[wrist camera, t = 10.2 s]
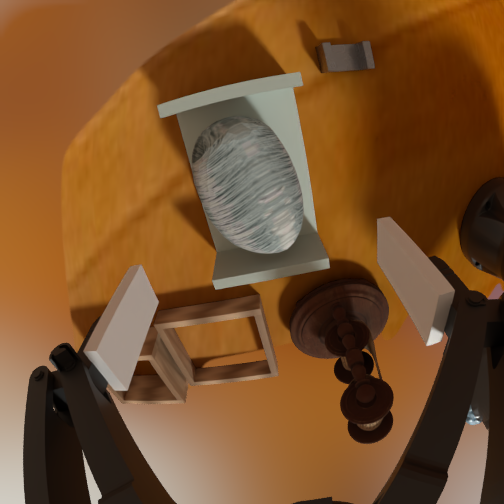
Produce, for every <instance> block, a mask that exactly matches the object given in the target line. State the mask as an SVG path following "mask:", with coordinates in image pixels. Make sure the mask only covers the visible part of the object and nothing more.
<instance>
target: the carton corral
mask: <svg viewBox="0 0 504 504" xmlns="http://www.w3.org/2000/svg"><path fill="white" fill-rule="evenodd" d="M142 360H149V362H150V363H151V365H152V366H153V367H154V369H155V370H156V372H157V373H158V375H140V376H132V379H131V382H130V385H129V388H128V391H115V390H114V389H113V388H112V387H111V386H110V384H109V383H108V385H107V387H108V388H109V390H110V391H111V392H112V393H113V394H114V395H115V396H116V397H117V398H118V399H119V400H120V401H121V403H129V404H177V403H185V402H186V395H187V389H188V383H189V382H188V381H187V379H186V378H185V376H184V375H183V373H182V372H181V370H180V368H179V367H178V365H177V364H176V362H175V360H174V359H173V357H172V355H171V354H170V352H169V350H168V349H167V347H166V345H165V344H164V342H163V340H162V339H161V337H160V335H159V333H158V332H157V330H156V328H155V327H149V330H148V333H147V335H146V338H145V341H144V344H143V347H142V349H141V352H140V355H139V358H138V361H142Z"/></svg>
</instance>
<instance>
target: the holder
mask: <svg viewBox="0 0 504 504" xmlns="http://www.w3.org/2000/svg"><path fill="white" fill-rule="evenodd" d="M298 86H303V83H302V78H301V73H300V72H297V73H289V74H283V75H277V76H271V77H265V78H260V79H254V80H249V81H244V82H240V83H235V84H231V85H227V86H222V87H218V88H214V89H210V90H207V91H203V92H199V93H196V94H192V95H189V96H185V97H182V98H178V99H175V100H172V101H169V102H166V103H163V104H160V105H157V107H158V111H159V115H160V118H164V117H167V116H170V115H174V114H176V115H177V119H178V122H179V126H180V130H181V133H182V137H183V140H184V144H185V147H186V151H187V155H188V158H189V162H190V165H191V168H192V152H193V149H194V145H195V142H196V140H197V138H198V137H199V135H200V134H201V133H202V131H203V130H204V129H206V128H207V127H208V126H210V125H211V124H212V123H214V122H216V121H219V120H221V119H224V118H227V117H233V116H246V117H251V118H255V119H258V120H260V121H262V122H263V123H265V124H266V125H267V126H269V127H270V128H271V129H272V130H273V131H274V133H275V134H276V135H277V137H278V138H279V140H280V141H281V142H282V144H283V146H284V147H285V149H286V151H287V153H288V154H289V156H290V158H291V161H292V163H293V166H294V168H295V170H296V173H297V176H298V180H299V183H300V186H301V191H302V196H303V206H304V214H303V221H302V226H301V230H300V232H299V234H298V236H297V238H296V240H295V242H294V243H293V244H292V245H291V246H290V247H289V248H288V249H287V250H284V251H282V252H278V253H268V254H267V253H256V252H251V251H248V250H246V249H243V248H240V247H238V246H236V245H234V244H233V243H231V242H230V241H229V240H227V239H226V238H225V237H224V236H223V235H222V234H221V233H220V232H219V231H218V229H217V228H216V227H215V226H214V225H213V224H212V222H211V221H210V219H209V217H208V215H207V214H206V212H205V210H204V212H205V215H206V219H207V222H208V225H209V228H210V232H211V235H212V238H213V241H214V245H215V248H216V251H217V255H216V261H215V266H214V272H213V278H212V282H213V285H214V287H215V290H217V289H223V288H228V287H234V286H240V285H245V284H250V283H256V282H261V281H267V280H272V279H277V278H282V277H288V276H293V275H298V274H303V273H308V272H313V271H318V270H323V269H328V268H330V265H329V257H328V255H327V253H326V251H325V248H324V246H323V244H322V242H321V240H320V237H319V235H318V233H317V227H316V219H315V212H314V205H313V198H312V191H311V184H310V178H309V172H308V165H307V159H306V154H305V148H304V142H303V137H302V131H301V126H300V121H299V115H298V110H297V105H296V101H295V96H294V91H293V87H298ZM202 206H203V205H202ZM203 209H204V207H203Z"/></svg>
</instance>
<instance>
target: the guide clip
mask: <svg viewBox="0 0 504 504" xmlns="http://www.w3.org/2000/svg"><path fill="white" fill-rule="evenodd" d="M315 48H316V52H317V56H318V61H319V65H320V70H321V73H327V72H338V71H353V70H367V69H374V68H375V65H374V59H373V55H372V50H371V45H370V41H361V42H359V43H356V44H344V45H331V44H330V42H328V43H321V44H320V45H318V46H317V47H315Z"/></svg>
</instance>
